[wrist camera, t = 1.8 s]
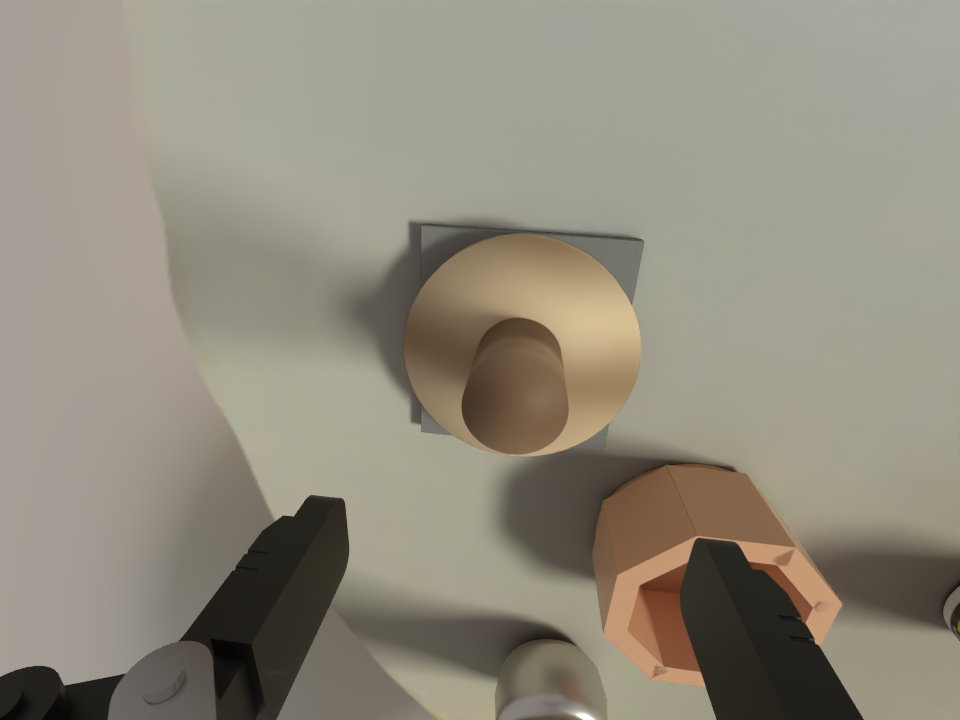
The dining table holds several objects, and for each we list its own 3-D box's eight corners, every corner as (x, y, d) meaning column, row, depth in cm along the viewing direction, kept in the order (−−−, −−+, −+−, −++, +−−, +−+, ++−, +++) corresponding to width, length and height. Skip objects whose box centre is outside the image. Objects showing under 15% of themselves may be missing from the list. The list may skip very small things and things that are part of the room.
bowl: (610, 454, 23) (628, 527, 18) (799, 474, 22) (868, 556, 17) (584, 582, 26) (594, 670, 22) (745, 603, 25) (791, 699, 21)
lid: (409, 225, 19) (361, 248, 14) (657, 242, 18) (706, 273, 13) (411, 430, 23) (375, 508, 18) (613, 452, 22) (637, 540, 17)
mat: (424, 223, 19) (421, 225, 19) (641, 239, 18) (644, 241, 18) (423, 425, 23) (421, 431, 23) (601, 444, 22) (603, 451, 22)
